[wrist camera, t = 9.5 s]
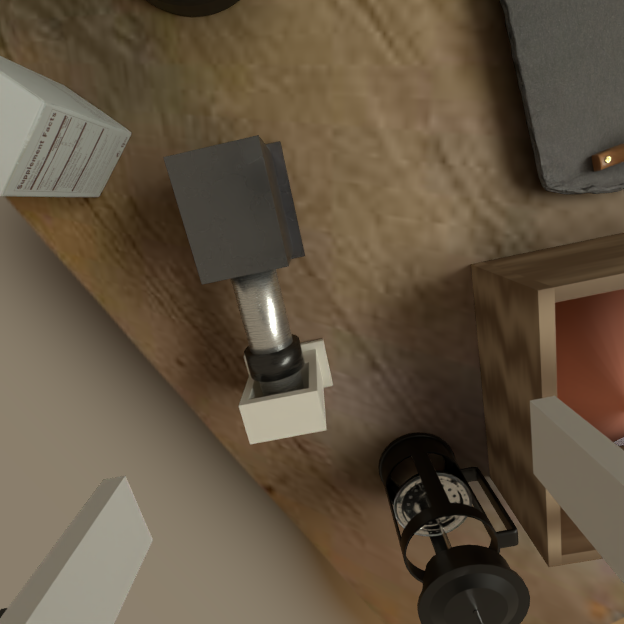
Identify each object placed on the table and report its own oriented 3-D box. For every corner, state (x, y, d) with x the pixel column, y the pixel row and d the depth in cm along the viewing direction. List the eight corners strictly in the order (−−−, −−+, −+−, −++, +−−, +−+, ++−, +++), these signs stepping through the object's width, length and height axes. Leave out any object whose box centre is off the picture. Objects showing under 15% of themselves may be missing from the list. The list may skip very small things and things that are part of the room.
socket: (244, 354, 42) (224, 399, 32) (322, 338, 41) (327, 380, 32) (256, 397, 43) (241, 453, 34) (332, 383, 43) (339, 435, 33)
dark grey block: (190, 163, 36) (146, 149, 26) (280, 142, 36) (269, 120, 26) (221, 272, 39) (192, 296, 30) (304, 255, 39) (303, 272, 29)
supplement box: (30, 153, 36) (-113, 129, 24) (63, 82, 34) (-73, 17, 22) (100, 200, 37) (-2, 200, 25) (135, 134, 35) (45, 99, 23)
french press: (380, 503, 48) (441, 762, 26) (366, 441, 45) (421, 671, 23) (471, 485, 47) (615, 736, 25) (463, 422, 44) (615, 640, 22)
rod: (222, 243, 34) (207, 250, 29) (276, 231, 34) (271, 236, 29) (264, 394, 39) (257, 423, 34) (312, 385, 39) (313, 412, 34)
